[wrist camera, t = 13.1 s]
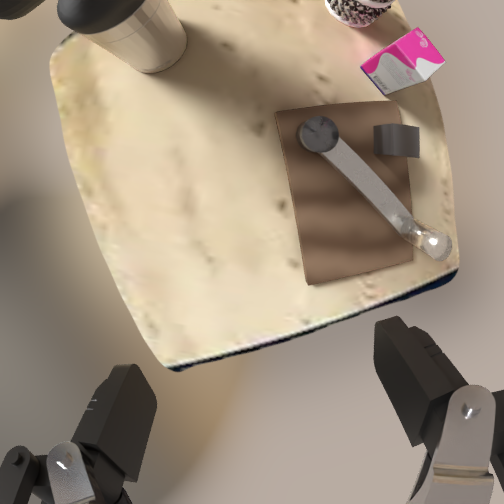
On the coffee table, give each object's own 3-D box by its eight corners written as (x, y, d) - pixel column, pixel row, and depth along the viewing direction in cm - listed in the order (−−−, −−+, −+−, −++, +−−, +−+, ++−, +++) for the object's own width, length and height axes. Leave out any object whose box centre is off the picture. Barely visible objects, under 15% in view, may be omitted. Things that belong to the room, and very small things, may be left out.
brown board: (274, 113, 36) (281, 104, 28) (390, 102, 35) (418, 95, 27) (305, 279, 44) (316, 305, 37) (407, 255, 43) (431, 275, 36)
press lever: (289, 137, 35) (307, 130, 24) (310, 113, 34) (337, 98, 23) (395, 240, 40) (436, 269, 29) (412, 219, 39) (458, 242, 28)
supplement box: (405, 77, 33) (448, 62, 23) (383, 96, 35) (424, 83, 24) (381, 49, 32) (419, 25, 21) (358, 66, 33) (393, 43, 22)
